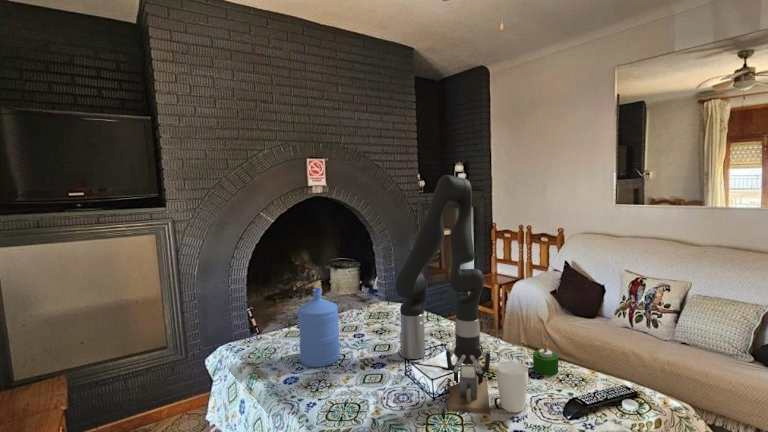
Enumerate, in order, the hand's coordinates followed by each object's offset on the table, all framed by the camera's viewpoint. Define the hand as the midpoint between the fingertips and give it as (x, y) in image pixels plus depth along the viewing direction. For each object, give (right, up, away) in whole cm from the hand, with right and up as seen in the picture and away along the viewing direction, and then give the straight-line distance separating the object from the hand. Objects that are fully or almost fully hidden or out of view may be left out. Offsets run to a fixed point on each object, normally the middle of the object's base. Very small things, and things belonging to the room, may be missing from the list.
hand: (468, 382), depth 123 cm
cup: (+12, -4, -7) cm, 14 cm away
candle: (+31, -2, +14) cm, 34 cm away
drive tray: (0, -4, 0) cm, 4 cm away
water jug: (-52, -4, +30) cm, 60 cm away
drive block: (0, -3, 0) cm, 3 cm away
